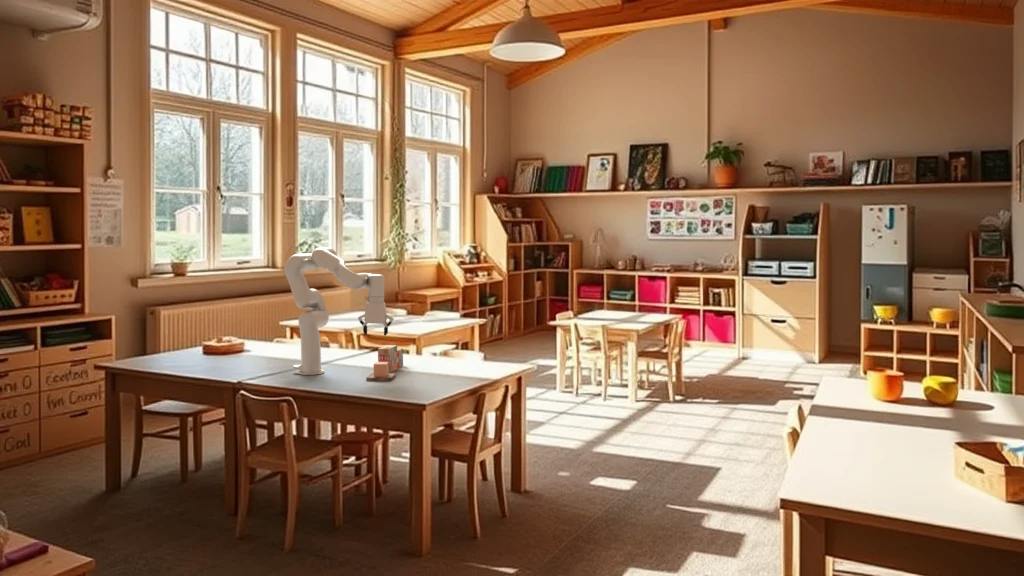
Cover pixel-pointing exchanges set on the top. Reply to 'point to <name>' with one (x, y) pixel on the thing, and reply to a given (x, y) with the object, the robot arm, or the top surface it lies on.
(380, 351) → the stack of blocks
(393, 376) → the base plate
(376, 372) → the reddish brown cube
